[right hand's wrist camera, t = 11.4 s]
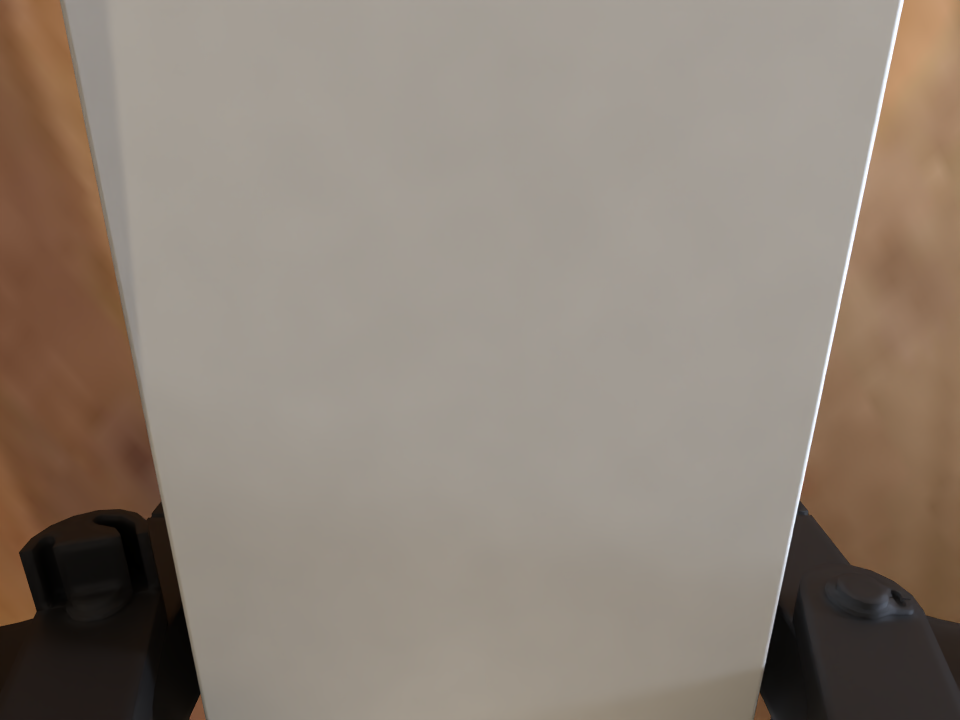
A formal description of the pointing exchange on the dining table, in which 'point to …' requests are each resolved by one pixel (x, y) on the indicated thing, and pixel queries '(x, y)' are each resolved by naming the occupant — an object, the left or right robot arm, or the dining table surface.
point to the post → (480, 334)
